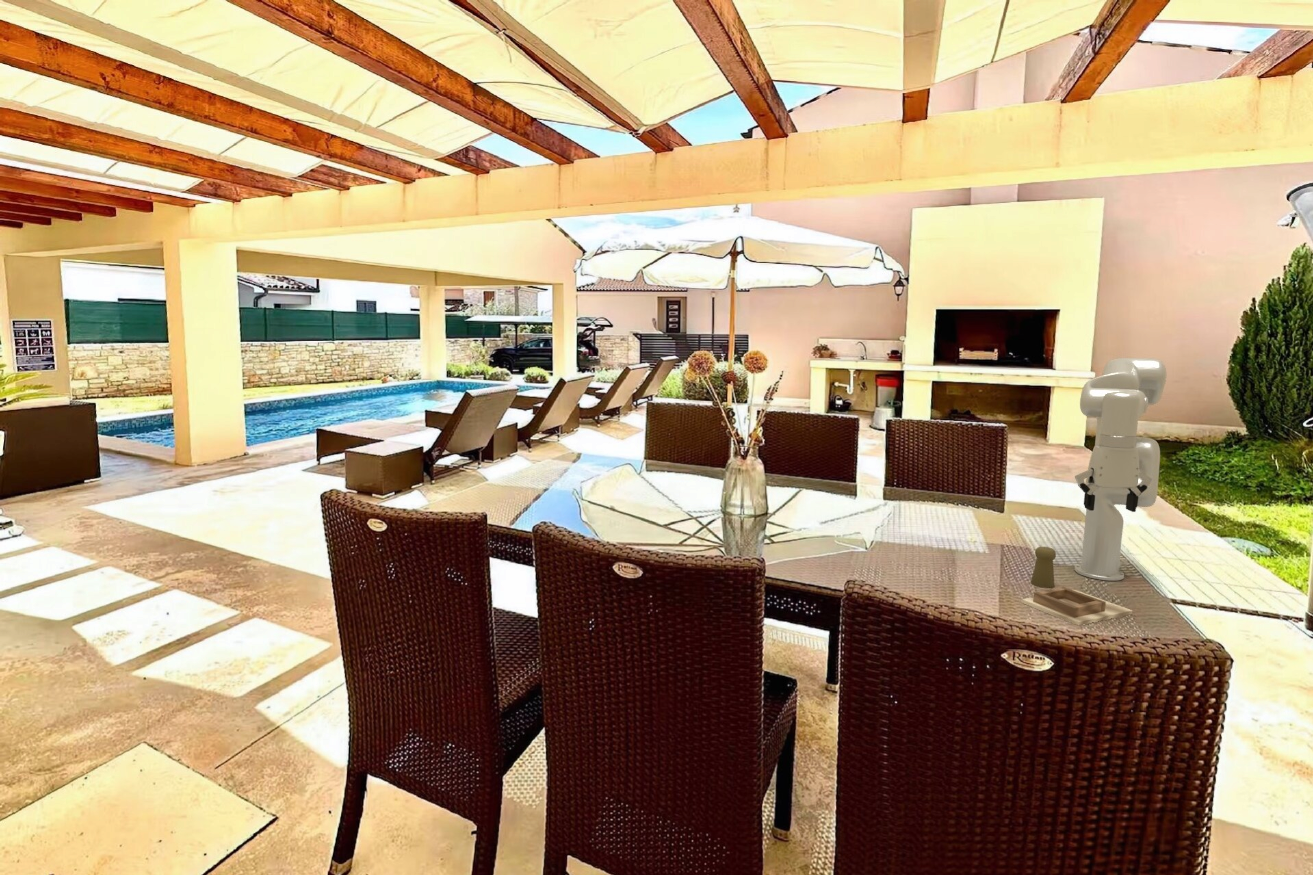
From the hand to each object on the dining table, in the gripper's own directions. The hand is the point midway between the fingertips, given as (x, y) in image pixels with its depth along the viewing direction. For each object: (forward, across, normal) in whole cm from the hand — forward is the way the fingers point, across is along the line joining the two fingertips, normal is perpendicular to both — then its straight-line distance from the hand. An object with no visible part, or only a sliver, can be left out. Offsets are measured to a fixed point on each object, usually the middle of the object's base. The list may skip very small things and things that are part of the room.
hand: (1109, 509), depth 170 cm
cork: (+28, +4, -23) cm, 37 cm away
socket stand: (+28, +3, -5) cm, 29 cm away
